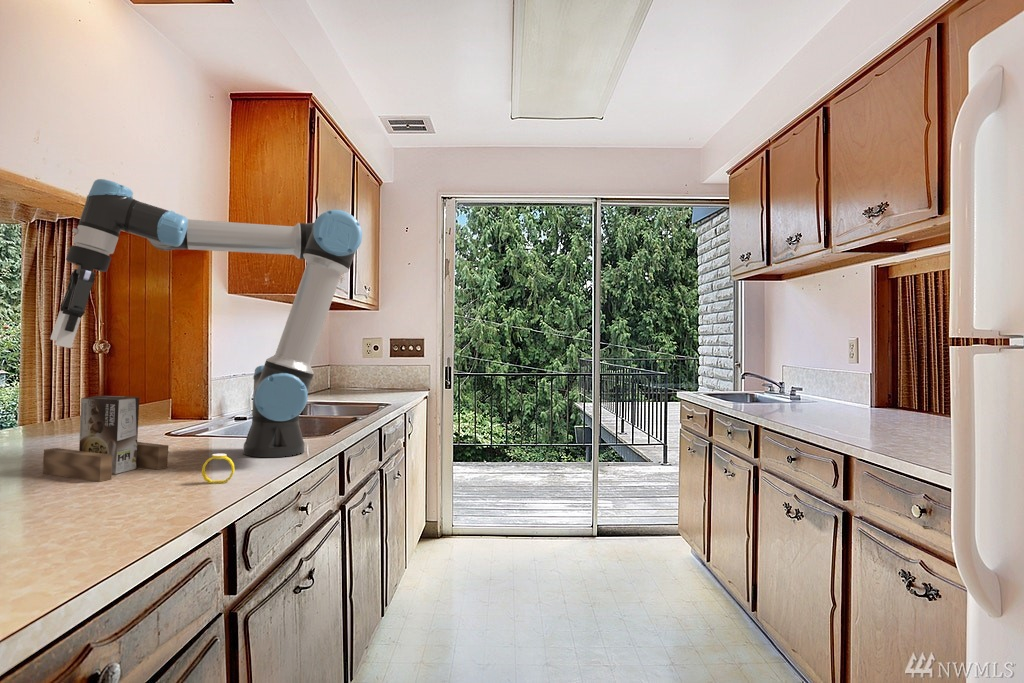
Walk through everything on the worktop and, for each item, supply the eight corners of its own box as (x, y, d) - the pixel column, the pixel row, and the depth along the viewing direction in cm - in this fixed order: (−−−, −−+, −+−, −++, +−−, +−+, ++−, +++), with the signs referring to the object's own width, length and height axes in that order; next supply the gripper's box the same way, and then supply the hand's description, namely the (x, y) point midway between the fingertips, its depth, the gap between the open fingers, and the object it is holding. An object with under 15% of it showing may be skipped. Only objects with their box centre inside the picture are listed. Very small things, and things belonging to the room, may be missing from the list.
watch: (233, 482, 124) (237, 454, 124) (231, 485, 121) (234, 456, 121) (202, 480, 122) (206, 452, 122) (199, 483, 119) (203, 454, 120)
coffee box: (137, 468, 131) (141, 396, 131) (115, 474, 124) (119, 399, 124) (100, 466, 132) (103, 394, 132) (76, 472, 125) (80, 396, 125)
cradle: (167, 467, 133) (168, 445, 133) (99, 481, 118) (100, 457, 118) (114, 460, 138) (115, 439, 138) (42, 473, 123) (43, 449, 123)
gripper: (66, 245, 134) (35, 334, 132) (77, 241, 116) (42, 344, 113) (104, 257, 139) (75, 342, 137) (121, 254, 121) (87, 353, 118)
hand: (60, 343), depth 125 cm, fingers open, 13 cm apart
